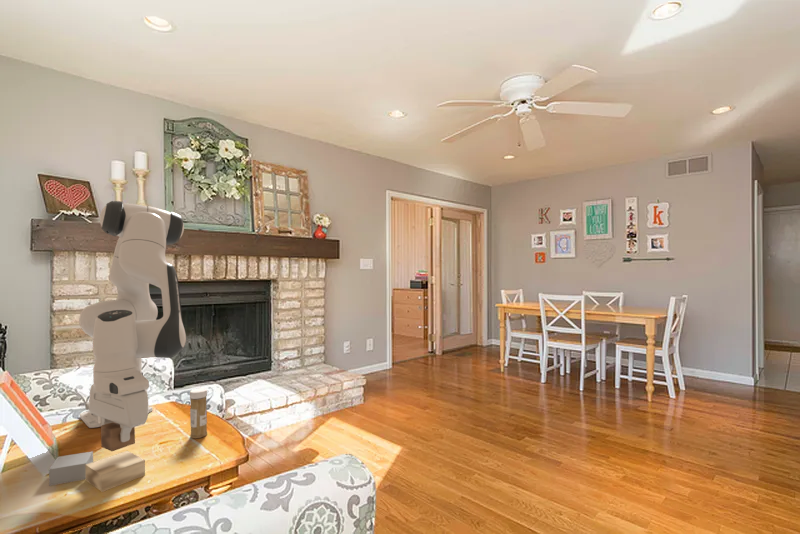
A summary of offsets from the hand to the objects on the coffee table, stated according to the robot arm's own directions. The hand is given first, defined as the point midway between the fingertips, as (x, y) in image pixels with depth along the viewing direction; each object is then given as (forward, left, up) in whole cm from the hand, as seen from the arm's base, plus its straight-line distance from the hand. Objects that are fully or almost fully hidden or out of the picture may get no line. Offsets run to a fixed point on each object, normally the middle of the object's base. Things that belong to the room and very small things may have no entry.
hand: (117, 438), depth 101 cm
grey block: (-10, -5, -10) cm, 15 cm away
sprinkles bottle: (-6, +25, -10) cm, 27 cm away
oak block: (0, 0, -10) cm, 10 cm away
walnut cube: (0, 0, -2) cm, 2 cm away
